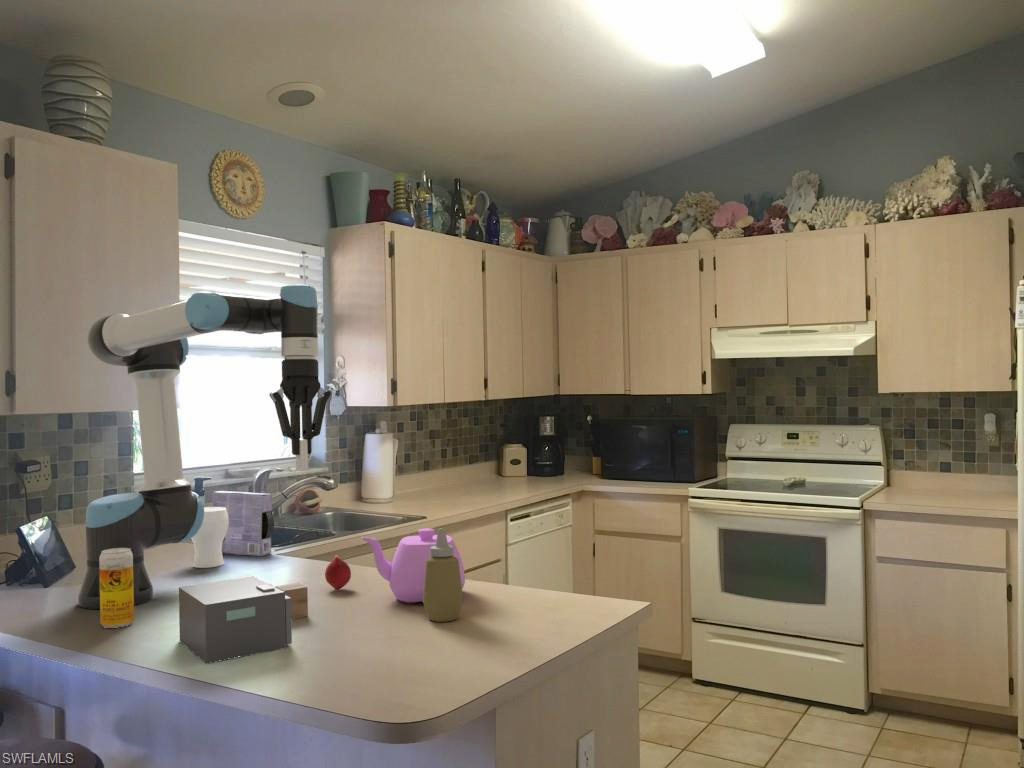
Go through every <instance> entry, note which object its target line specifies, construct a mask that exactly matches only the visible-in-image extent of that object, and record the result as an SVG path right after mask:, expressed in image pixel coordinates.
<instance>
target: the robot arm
mask: <svg viewBox="0 0 1024 768" xmlns="http://www.w3.org/2000/svg"><path fill="white" fill-rule="evenodd" d="M317 295H318V294H317V289H316V288H315V287H314V286H312V285H308V284H287V285H286V284H285V285H283V286H282V287H280V293H279V296H275V297H257V296H245V295H236V294H228V293H219V292H214V291H198V292H195V293H193V294H191V296H190V297H189V298H188V299H187V300H184V301H180V302H178V303H174V304H169V305H165V306H161V307H158V308H154V309H149V310H145V311H141V312H137V313H134V314H130V315H128V314H125V313H114V314H111V315H110V314H109V315H108V316H104V317H101V318H98V320H96V321H95V322H94V323H93V324H92V325H91V327H90V329H89V330H88V334H87V343H88V347H89V349H90V351H91V352H92V354H93V355H94V356H95V357H96V358H97V360H99V361H101V362H102V363H105V364H108V365H111V366H115V367H116V366H117V367H119V366H120V367H126V369H127V376H128V377H129V378H130V379H131V380H133V381H134V382H135V390H136V399H137V410H138V424H139V431H140V432H139V433H140V444H141V455H142V456H141V457H142V465H143V466H142V467H143V475H144V476H143V478H144V479H143V480H144V482H143V484H142V486H141V487H140V488H139V489H138V492H123V493H119V494H118V493H117V494H111V495H106V496H102V497H100V498H96V499H95V500H93V501H91V502H90V503H89V504H88V505H87V507H86V510H85V511H86V512H85V521H84V525H85V538H86V539H85V541H86V542H85V543H86V544H85V545H86V546H85V547H86V549H85V550H86V571H85V573H84V577H83V580H82V583H81V586H80V589H79V591H78V592H79V593H78V600H77V601H78V603H77V604H78V606H79V607H80V608H84V609H89V610H100V568H99V557H100V555H101V552H102V551H103V550H107V549H113V548H130V549H131V552H132V554H133V594H134V606H135V605H140V604H142V603H146V602H147V601H150V600H152V599H153V598H154V588H153V584H152V582H151V579H150V576H149V573H148V571H147V567H146V565H145V554H144V553H145V551H144V550H145V549H150V548H153V547H160V546H164V545H169V544H170V545H171V544H178V543H181V542H183V541H187V540H191V538H192V537H193V536H195V535H196V534H197V532H198V530H199V529H200V528H201V526H202V523H203V519H204V507H205V506H204V505H205V504H204V502H203V500H202V499H201V498H200V495H199V494H198V493H196V492H194V491H192V484H191V483H190V482H189V481H188V480H187V479H185V478H184V470H183V460H182V450H181V449H182V448H181V440H180V439H181V438H180V427H179V418H178V417H179V416H178V405H177V396H176V384H175V383H176V382H175V379H176V378H177V376H178V375H179V374H180V372H181V369H180V368H181V367H180V366H182V365H183V364H184V363H185V362H186V360H187V356H188V355H189V349H190V347H189V340H188V338H192V337H196V336H199V335H204V334H209V333H214V332H215V333H216V332H220V331H222V332H223V331H227V332H228V331H230V332H243V333H246V334H253V335H263V334H268V333H270V334H271V333H279V332H280V338H281V347H280V348H281V351H280V353H281V357H282V358H283V360H281V382H280V385H279V387H278V388H277V389H276V390H274V391H271V392H269V398H270V399H271V400H272V401H273V403H274V407H275V410H276V415H277V418H278V422H279V425H280V426H279V427H280V430H281V435H282V436H283V437H285V438H287V439H290V440H291V454H292V455H294V456H295V468H296V471H299V472H304V471H309V464H308V462H309V456H308V455H311V454H312V440H313V439H314V437H316V436H320V435H321V430H322V425H323V422H324V421H323V420H324V417H325V412H326V411H325V410H326V407H327V401H328V400H329V398H330V397H331V394H332V392H331V391H330V390H326V389H324V388H323V387H321V386H322V385H321V383H320V381H319V380H320V379H319V360H318V359H317V357H318V356H319V339H318V338H319V337H318V311H319V310H318V308H319V305H318V297H317ZM284 396H285V397H284ZM316 396H317V400H316V404H315V408H314V413H313V412H312V409H313V408H312V407H313V400H314V399H315V397H316ZM284 398H287V400H288V403H289V404H288V405H289V409H290V410H289V413H290V414H289V416H288V412H287V408H286V404H285V400H284ZM312 415H313V416H312ZM289 417H290V420H289ZM301 431H302V432H301ZM301 434H302V438H301Z"/></svg>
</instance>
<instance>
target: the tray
mask: <svg viewBox="0 0 1024 768" xmlns="http://www.w3.org/2000/svg"><path fill="white" fill-rule="evenodd" d="M285 620H286V646H287V645H291V644H292V643H293V636H292V635H293V632H292V631H293V628H292V627H293V626H292V623H293V622H292V619H291V598H290V597H288V596H286V595H285Z"/></svg>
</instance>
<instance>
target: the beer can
mask: <svg viewBox="0 0 1024 768" xmlns="http://www.w3.org/2000/svg"><path fill="white" fill-rule="evenodd" d="M99 568H100V609H99V610H100V611H99V613H100V614H99V616H100V618H99V620H100V621H99V622H100V623H99V624H100V625H101V626H102V627H103V628H104V629H106V628H117V629H119V628H118V627H123V628H125V627H124V626H126V627H129V626H131V625H130V624H132V623H133V621H134V620H135V609H134V608H135V605H134V594H133V554H132V552H131V549H130V548H113V549H107V550H103V551H102V552H101V555H100V557H99ZM128 625H129V626H128Z"/></svg>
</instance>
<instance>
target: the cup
mask: <svg viewBox="0 0 1024 768" xmlns="http://www.w3.org/2000/svg"><path fill="white" fill-rule="evenodd" d="M228 525H229V522H228V514H227V510H226V508H225V507H213V506H207V507H205V506H204V519H203V523H202V526H201V528H200V529H199V530H198V532H197V534H196V535H195V536H193V537H192V538H190V540H191V541H192V543H193V549H194V556H193V564H192V566H193V567H194V568H200V569H205V568H207V569H208V568H215V567H221V566H222V565H224V557H223V553H222V551H221V550H222V542H223V539H224V537H225V535H226V533H227V529H228Z"/></svg>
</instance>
